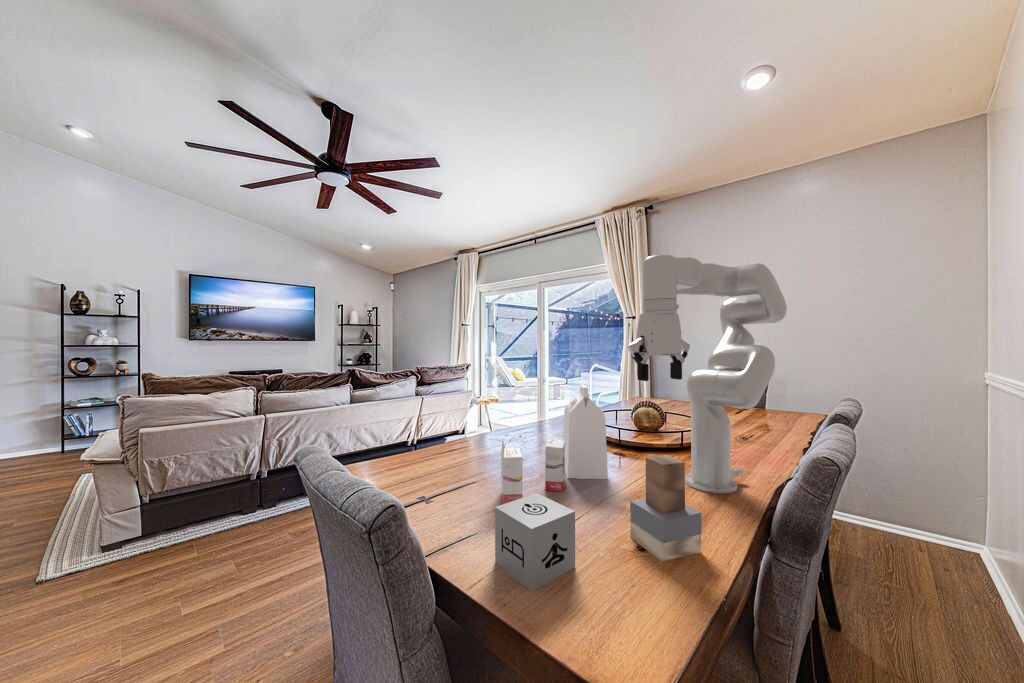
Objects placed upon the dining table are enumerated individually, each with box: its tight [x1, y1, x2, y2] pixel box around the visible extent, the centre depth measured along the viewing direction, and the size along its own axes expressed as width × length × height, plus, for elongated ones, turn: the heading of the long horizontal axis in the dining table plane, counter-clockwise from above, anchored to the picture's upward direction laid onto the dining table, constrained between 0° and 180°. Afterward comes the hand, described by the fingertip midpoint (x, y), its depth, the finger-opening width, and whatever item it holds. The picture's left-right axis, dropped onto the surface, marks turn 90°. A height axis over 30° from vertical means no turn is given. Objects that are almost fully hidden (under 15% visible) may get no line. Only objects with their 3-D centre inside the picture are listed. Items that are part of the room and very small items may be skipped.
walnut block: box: [645, 454, 686, 514], centre depth 73 cm, size 5×5×9 cm
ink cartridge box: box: [500, 437, 524, 505], centre depth 94 cm, size 9×5×15 cm, turn 5°
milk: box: [563, 384, 609, 480], centre depth 114 cm, size 12×12×26 cm
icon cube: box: [494, 492, 576, 592], centre depth 66 cm, size 10×10×10 cm
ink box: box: [544, 438, 566, 493], centre depth 103 cm, size 9×5×12 cm, turn 168°
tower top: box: [629, 497, 703, 543], centre depth 73 cm, size 9×9×4 cm
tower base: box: [629, 521, 702, 562], centre depth 73 cm, size 9×9×4 cm
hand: (659, 379), depth 90 cm, fingers open, 9 cm apart
